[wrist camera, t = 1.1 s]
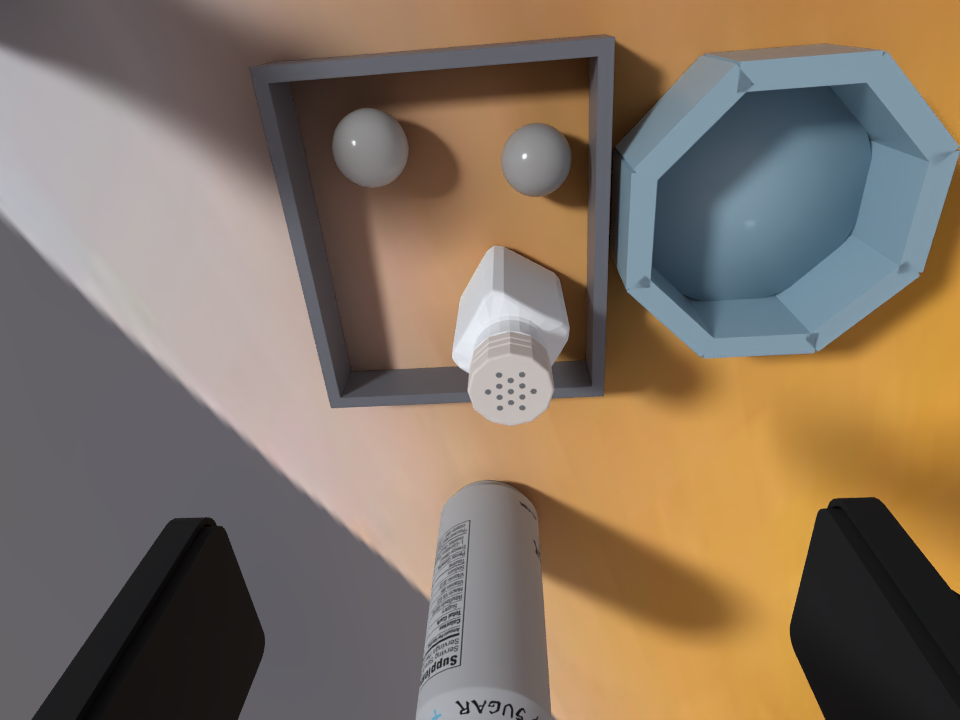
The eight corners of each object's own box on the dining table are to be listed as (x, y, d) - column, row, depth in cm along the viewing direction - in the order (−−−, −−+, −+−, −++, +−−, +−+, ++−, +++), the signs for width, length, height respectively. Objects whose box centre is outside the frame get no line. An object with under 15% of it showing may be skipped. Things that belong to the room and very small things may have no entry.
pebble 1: (335, 105, 27) (316, 117, 24) (408, 100, 26) (396, 111, 24) (349, 180, 28) (332, 198, 25) (417, 175, 28) (408, 193, 25)
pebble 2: (499, 120, 27) (498, 132, 24) (568, 115, 26) (575, 126, 24) (503, 189, 28) (503, 207, 26) (568, 184, 28) (575, 202, 25)
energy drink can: (512, 555, 40) (516, 816, 27) (427, 526, 39) (390, 783, 26) (554, 493, 37) (581, 751, 24) (464, 460, 36) (442, 712, 23)
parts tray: (271, 62, 26) (249, 67, 24) (604, 34, 25) (615, 36, 23) (342, 381, 34) (331, 408, 31) (597, 369, 33) (603, 396, 31)
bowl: (616, 60, 25) (636, 70, 21) (917, 36, 24) (993, 41, 21) (608, 319, 31) (622, 362, 27) (849, 306, 30) (899, 349, 27)
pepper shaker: (523, 336, 32) (530, 450, 24) (455, 303, 31) (438, 409, 23) (563, 273, 30) (586, 373, 22) (492, 236, 29) (488, 326, 21)
